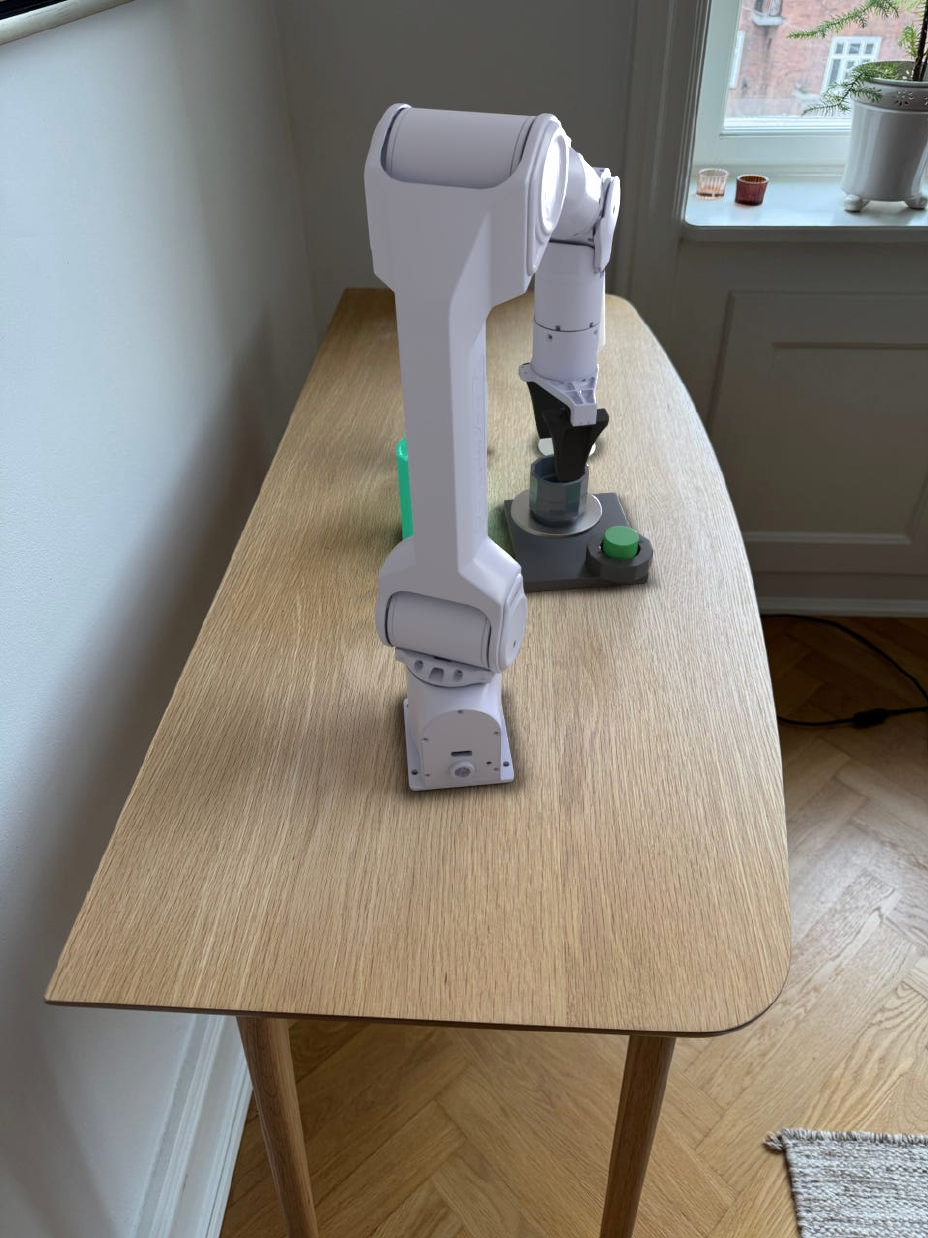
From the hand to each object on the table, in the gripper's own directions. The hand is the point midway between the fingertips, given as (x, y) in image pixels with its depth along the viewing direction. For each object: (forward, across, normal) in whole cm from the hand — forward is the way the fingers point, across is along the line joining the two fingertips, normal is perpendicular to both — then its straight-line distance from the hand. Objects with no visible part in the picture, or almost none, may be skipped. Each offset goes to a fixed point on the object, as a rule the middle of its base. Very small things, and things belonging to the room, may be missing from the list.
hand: (558, 456), depth 87 cm
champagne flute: (+10, -17, +6) cm, 21 cm away
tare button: (+7, +7, +5) cm, 11 cm away
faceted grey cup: (+6, 0, 0) cm, 6 cm away
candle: (+9, -2, -12) cm, 16 cm away
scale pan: (+6, 0, 0) cm, 6 cm away
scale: (+9, +2, +2) cm, 10 cm away
